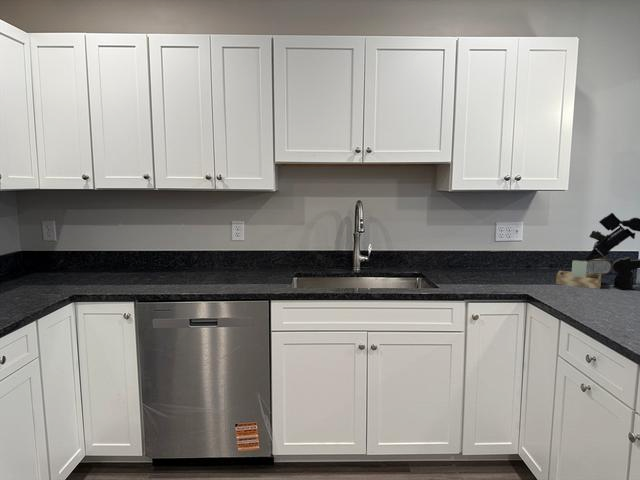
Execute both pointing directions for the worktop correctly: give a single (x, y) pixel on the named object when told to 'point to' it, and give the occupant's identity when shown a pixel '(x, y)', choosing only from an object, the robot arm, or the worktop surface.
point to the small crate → (579, 268)
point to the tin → (598, 266)
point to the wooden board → (578, 280)
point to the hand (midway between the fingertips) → (586, 258)
